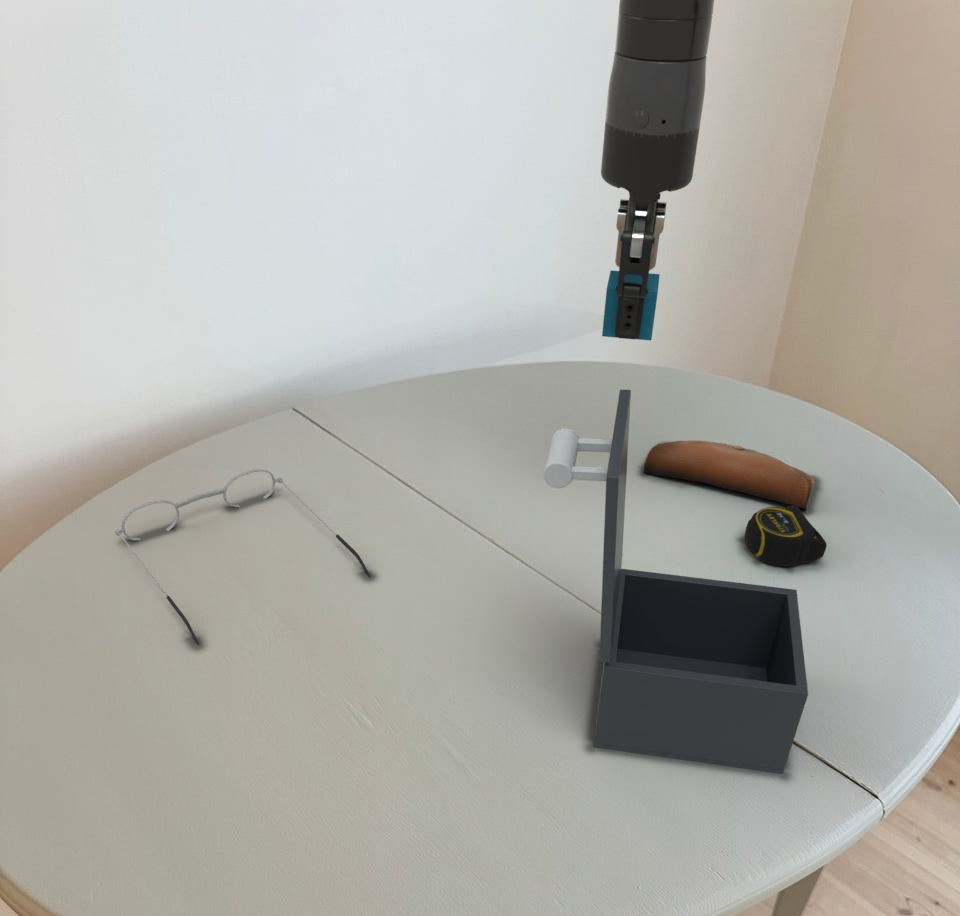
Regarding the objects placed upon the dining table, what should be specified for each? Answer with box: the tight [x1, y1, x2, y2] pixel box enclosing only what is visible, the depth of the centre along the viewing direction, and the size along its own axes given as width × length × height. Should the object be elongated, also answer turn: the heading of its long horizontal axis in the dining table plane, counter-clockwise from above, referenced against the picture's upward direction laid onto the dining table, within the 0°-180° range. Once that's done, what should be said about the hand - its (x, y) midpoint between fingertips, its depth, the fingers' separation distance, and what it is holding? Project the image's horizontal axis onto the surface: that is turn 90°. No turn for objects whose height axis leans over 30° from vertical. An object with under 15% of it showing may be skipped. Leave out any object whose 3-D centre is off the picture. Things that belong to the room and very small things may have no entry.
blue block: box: [601, 269, 661, 341], centre depth 89 cm, size 4×4×4 cm
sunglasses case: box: [643, 440, 816, 512], centre depth 109 cm, size 18×7×7 cm
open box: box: [592, 568, 809, 775], centre depth 79 cm, size 15×13×9 cm
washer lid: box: [542, 389, 632, 663], centre depth 72 cm, size 15×13×5 cm
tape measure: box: [744, 505, 827, 567], centre depth 98 cm, size 7×7×4 cm
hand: (628, 325), depth 90 cm, fingers closed on blue block, 4 cm apart
